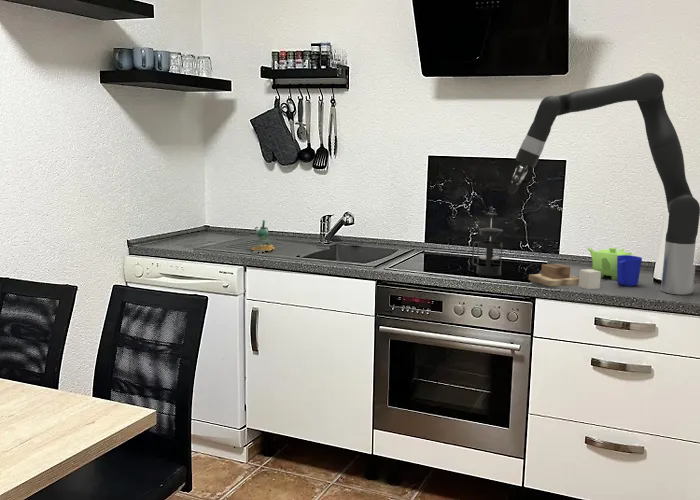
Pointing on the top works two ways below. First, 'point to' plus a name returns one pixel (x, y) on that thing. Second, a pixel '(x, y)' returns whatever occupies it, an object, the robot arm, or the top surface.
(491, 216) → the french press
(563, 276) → the base block
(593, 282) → the cube
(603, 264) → the kettle
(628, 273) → the mug
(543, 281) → the board
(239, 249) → the top surface
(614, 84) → the robot arm
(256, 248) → the frog figurine
